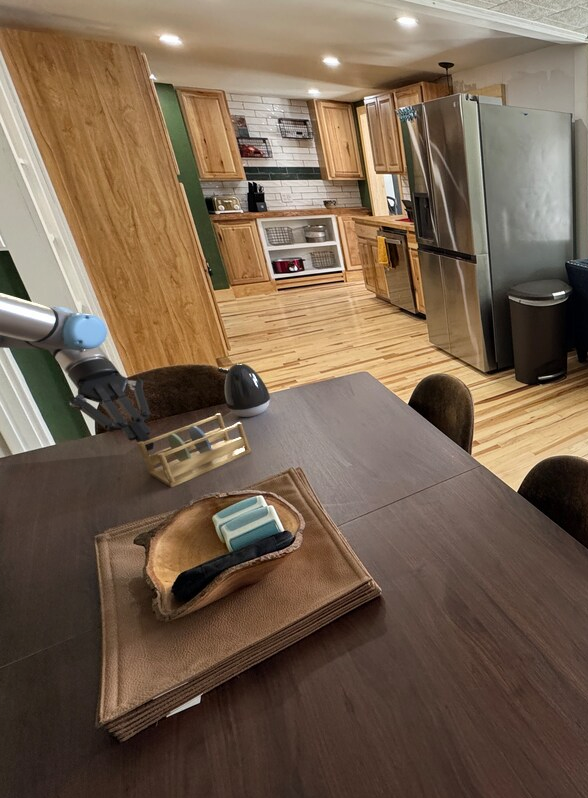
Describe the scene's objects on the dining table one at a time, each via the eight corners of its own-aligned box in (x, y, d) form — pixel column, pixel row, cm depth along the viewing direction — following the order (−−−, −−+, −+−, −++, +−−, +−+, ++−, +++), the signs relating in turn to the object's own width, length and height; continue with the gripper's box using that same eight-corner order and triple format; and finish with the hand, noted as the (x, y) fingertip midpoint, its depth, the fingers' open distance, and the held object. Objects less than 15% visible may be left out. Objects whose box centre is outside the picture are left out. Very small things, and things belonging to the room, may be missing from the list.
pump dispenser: (241, 406, 140) (226, 358, 135) (279, 403, 142) (266, 356, 136) (222, 422, 131) (205, 372, 125) (263, 419, 133) (248, 370, 127)
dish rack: (172, 487, 102) (156, 451, 98) (149, 474, 106) (134, 438, 102) (251, 452, 115) (240, 418, 111) (229, 441, 119) (217, 409, 115)
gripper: (47, 368, 101) (112, 454, 100) (126, 349, 112) (185, 428, 111) (49, 385, 105) (111, 468, 105) (124, 366, 116) (181, 441, 115)
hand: (149, 447), depth 108 cm, fingers closed
